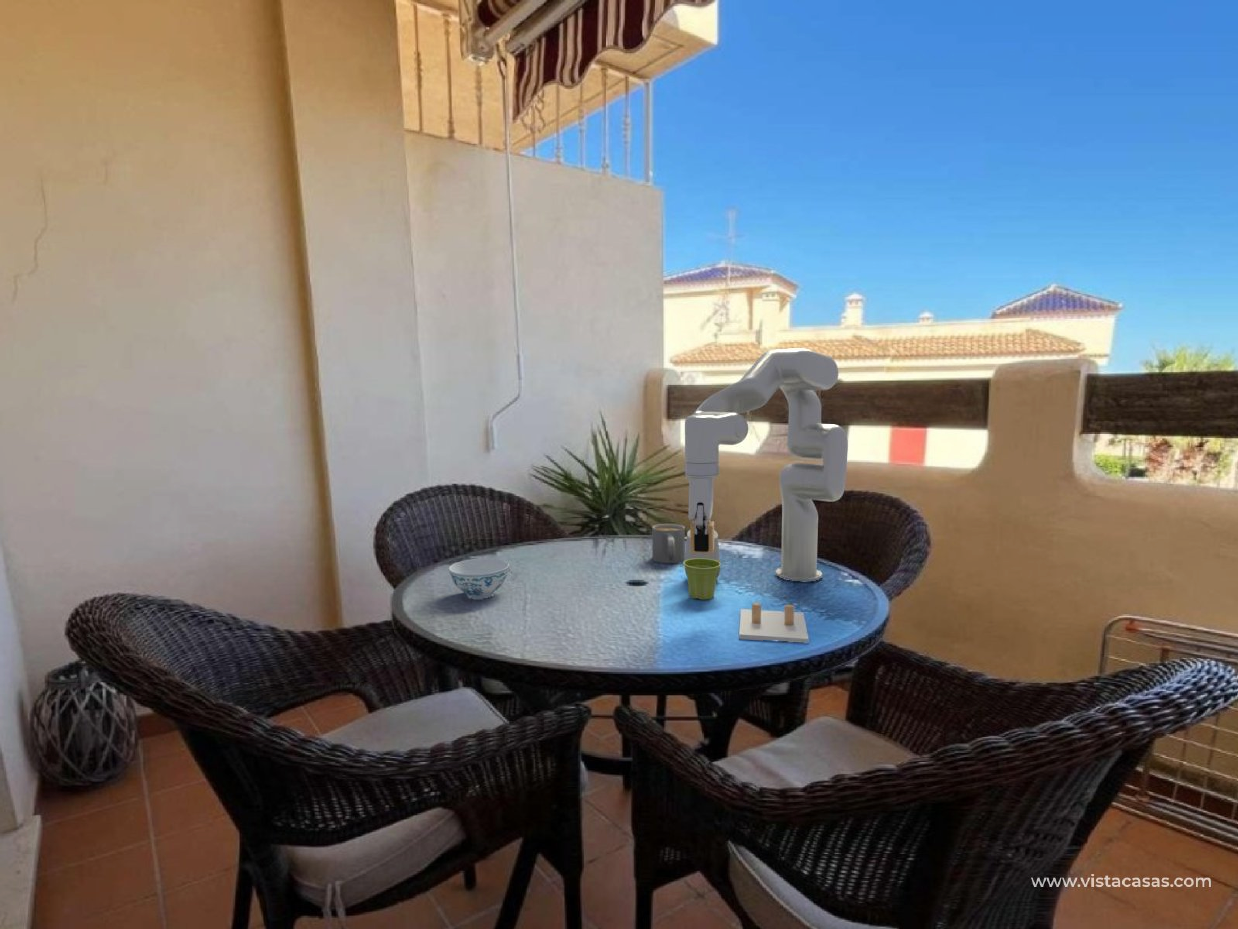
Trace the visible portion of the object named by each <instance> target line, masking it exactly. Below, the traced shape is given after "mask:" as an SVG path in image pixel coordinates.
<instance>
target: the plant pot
mask: <svg viewBox="0 0 1238 929" xmlns="http://www.w3.org/2000/svg"><path fill="white" fill-rule="evenodd" d="M682 562H683V566H684V571H685V570H686V572H687V575H686V578H687V585H688V586H687V587H688V595H689V597H690V598H692V599H699V600H702V601H706V600H710V599H713V598H714V596H715V590H716V585H717V579H718V578H717V572H718V571H719V567H720V568H721V565H722V563H721V561H720V562H718V561H716V560H712V559H703V558H695V559H688V560H684V561H682ZM686 572H685V573H686ZM716 578H717V579H716Z"/></svg>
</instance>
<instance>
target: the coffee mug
mask: <svg viewBox="0 0 1238 929" xmlns="http://www.w3.org/2000/svg"><path fill="white" fill-rule="evenodd" d="M651 530H652V532H651V533H652V537H651V541H652V543H651V546H652V548H651V549H652V552H651V553H652V560H653V561H654V562H656V563H661V564H678V563H682V562H684V561H685V555H686V544H685V543H686V542H685V540H686V538H685V537H686V536H685V535H686V532H685V531H686V529H685V526H684V525H681V524H678V523H677V524H676V523H660V524H655V525H652V529H651Z"/></svg>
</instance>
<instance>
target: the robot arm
mask: <svg viewBox="0 0 1238 929" xmlns="http://www.w3.org/2000/svg"><path fill="white" fill-rule="evenodd" d="M838 378H839V368H838V365H837V362H836V361H835V359H833V358H832V357H830V356H828V355H825V354H822V353H821V352H817V351H814V350H811V349H808V348H807V349H806V348H802V347H801V348H798V347H797V348H796V347H794V348H780V349H779V348H777V349H776V348H775V349H770V350H768V351H765V352H764V353H762V354H761V355H760V356H759V358H758V359H757V360H756V361H755V363H753V365H752V366H751V367H750V368H749V369H748V371H746V373H745V374H743V376H742V377H741V378H740V379H739V380H738V381H736V382H735V383H732V384H730V385H728V386H727V387H725V388H723V389H721V390H718V391H716V392H715V393H713V394H712V395H710V396H708V397H707V398H706V399H705V400H704V401H703V402H702V403H701V404H700V405H699V406H698V407H697V408H696V409H695V411H694V412H693V414H692V415H688V416H687V417H686V418H685V420H684V456H685V458H684V461H685V463H684V468H685V469H684V472H685V473H684V474H685V475H684V476H685V477H686V478H688V479H689V483H688V484H689V485H688V519H687V520H688V521H690V522H692V521H695V534H694V550H695V551H696V552H708V551H709V534H707V528H708V521H711V519H712V515H713V507H714V486H715V485H714V484H715V483H714V479H715V478H717V477H719V476H720V475H719V474H720V471H719V470H720V466H719V464H720V463H719V462H720V460H719V458H720V457H719V456H720V453H719V448H720V447H719V446H720V445H723V446H734V445H738V444H740V443H742V442H743V441H744V440H745V439H746V437H747V436H748V433H749V424H748V421H747V419H746V418H745V417H744V416H743V415H742V413H747V412H750V411H754V410H757V409H760V408H761V407H763V406H765V405H766V404H767V403H768V402H769V400H770V399H771V398H772V396H774V394H775V393H776V391H777V390H778V389H780V390H781V391H782V393H783V394H784V396H785V398H786V400H787V404H788V423H787V426H788V428H787V441H786V442H787V443H786V445H787V451H788V453H789V455H791V456H793V457H795V458H798V459H799V458H800V459H808V460H810V459H811V460H822V464H815V463H805V462H793V463H791V462H790V463H788V464H787V465H784V467H783V468H781V470H780V473H779V477H778V483H779V485H778V486H779V490H780V497H781V508H782V509H781V510H782V511H781V512H782V513H781V516H782V517H781V558H780V560H781V561H780V562H781V565H780V566H781V567H778V568H777V569H776V570H775V573H776V574H775V576H776V575H777V576H779V577H780V578H779V579H781V578H785V579H789V580H794V581H813V580H817V579H819V578H822V579H823V572H822V571H821V570H819V569H817V567H818V566H817V565H818V533H819V532H818V529H819V525H818V524H819V513H818V510H817V507H816V506H815V503H814V501H820V502H821V501H822V502H831V503H832V502H837V501H838V500H840V499H841V498H842V497H843V495H844V491H845V489H846V482H847V481H846V480H847V468H848V467H847V466H848V454H849V453H848V451H849V449H848V447H849V441H848V436H847V433H846V431H845V429H844V428H843V427H842V426H840V425H839V424H831V423H822V403H821V400H820V398H819V396H818V395H817V393H816V392H815V391H827V390H830V389H831V388H832V387H834V386H835V385H836V383H837V381H838ZM703 523H705V525H704V524H703ZM777 576H776V577H777Z"/></svg>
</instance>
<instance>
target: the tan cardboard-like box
mask: <svg viewBox="0 0 1238 929" xmlns="http://www.w3.org/2000/svg"><path fill="white" fill-rule="evenodd" d="M703 524H704V525H705V523H703ZM689 526H690V527H689V528H690V529H689V530H690V545H691V553H713V550H714V530H715V521H711V520H710V521H708V528H707V534H709V551H708V552H696V551H695V550H694V534H695V520H692V521H691V523H690V525H689Z"/></svg>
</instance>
